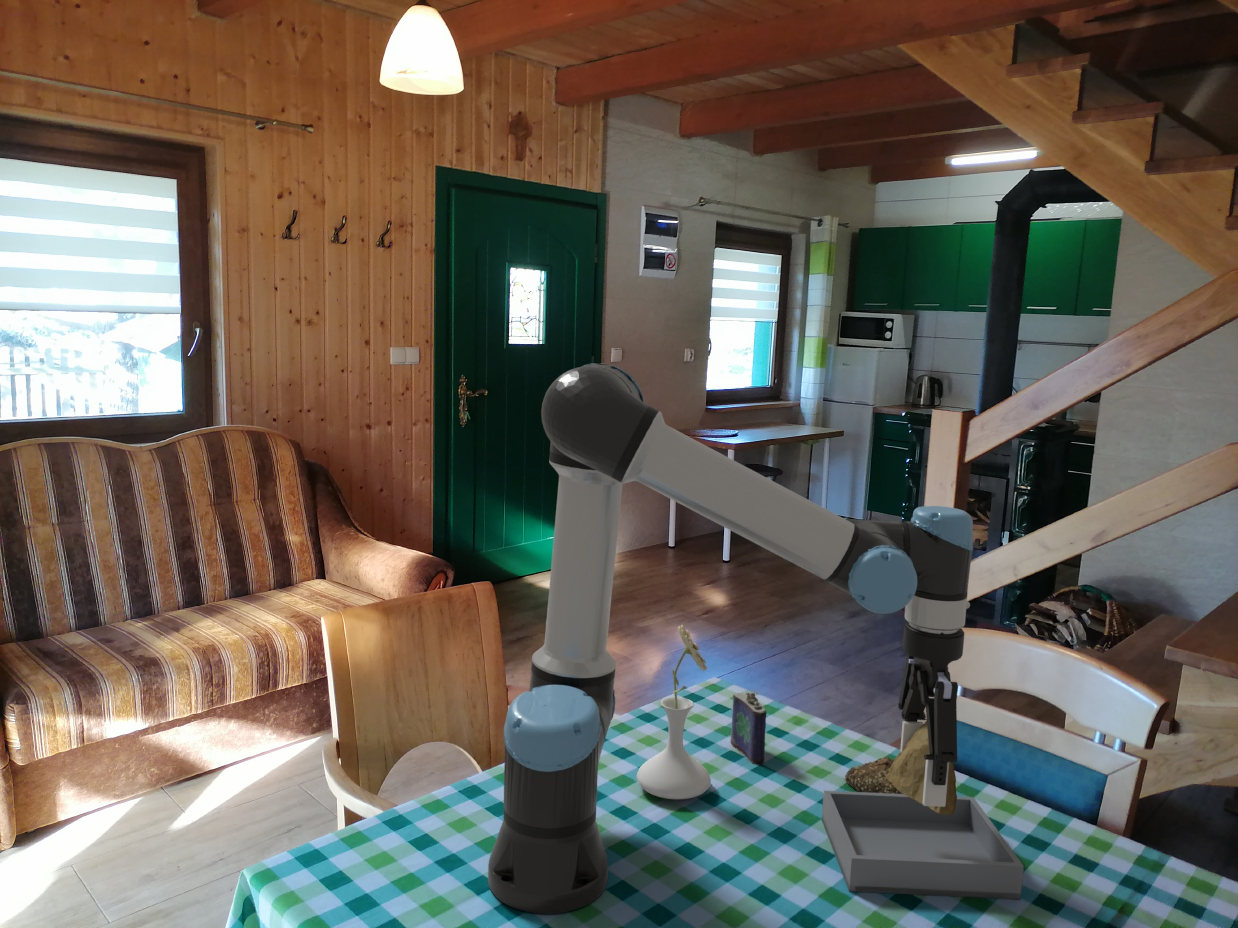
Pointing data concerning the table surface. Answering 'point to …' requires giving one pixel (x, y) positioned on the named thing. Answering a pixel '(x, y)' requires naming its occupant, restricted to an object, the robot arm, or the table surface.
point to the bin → (918, 847)
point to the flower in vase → (676, 746)
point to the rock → (919, 772)
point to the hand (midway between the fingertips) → (921, 784)
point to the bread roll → (872, 777)
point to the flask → (748, 726)
